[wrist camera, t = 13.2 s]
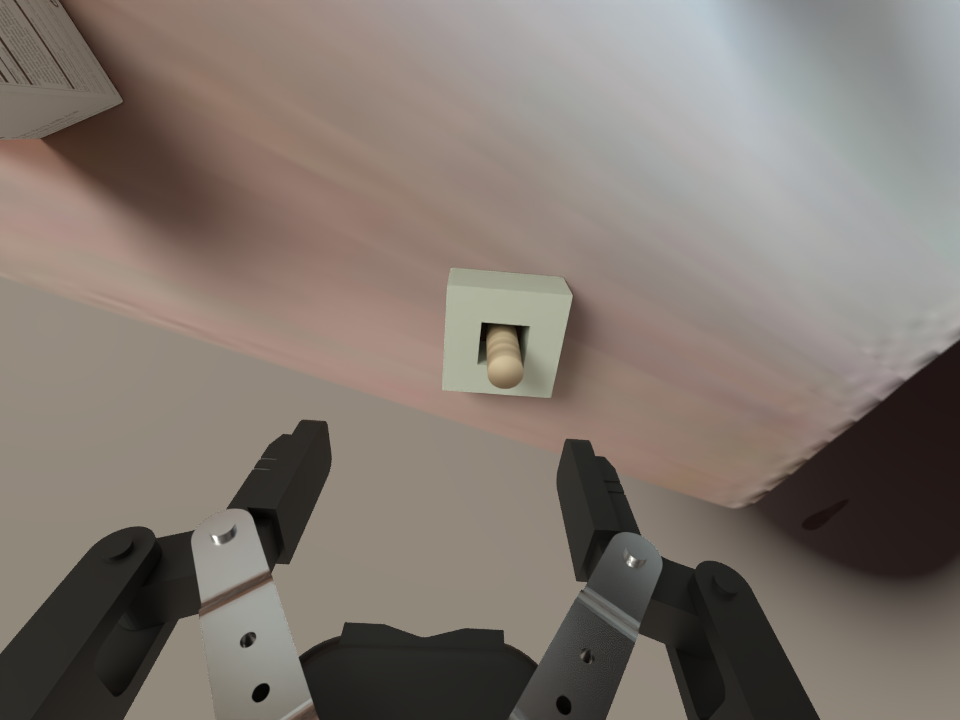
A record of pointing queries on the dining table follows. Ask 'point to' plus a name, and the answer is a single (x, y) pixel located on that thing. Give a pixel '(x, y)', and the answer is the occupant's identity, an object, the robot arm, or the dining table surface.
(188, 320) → the dining table surface
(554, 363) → the hole block
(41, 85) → the supplement box
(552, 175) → the dining table surface
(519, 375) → the peg
